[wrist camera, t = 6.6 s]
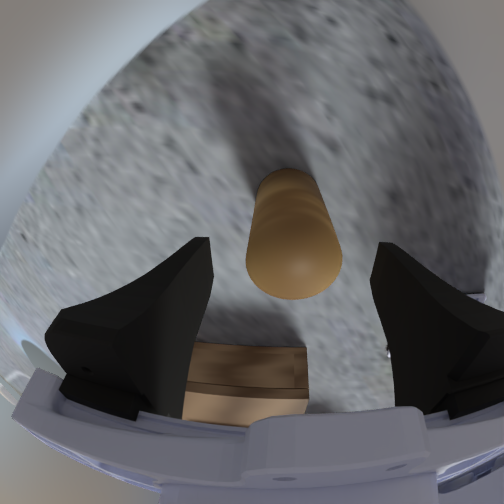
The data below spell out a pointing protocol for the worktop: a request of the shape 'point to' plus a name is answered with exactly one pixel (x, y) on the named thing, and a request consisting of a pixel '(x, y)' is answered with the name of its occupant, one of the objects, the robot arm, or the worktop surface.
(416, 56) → the worktop surface
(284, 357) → the toolbox
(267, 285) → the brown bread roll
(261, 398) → the toolbox lid
